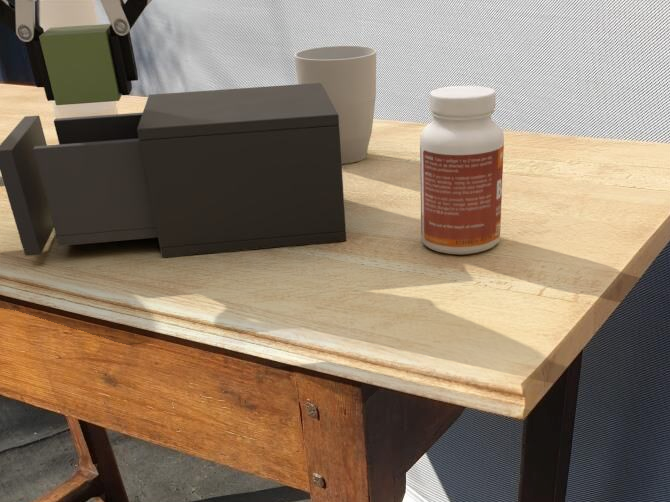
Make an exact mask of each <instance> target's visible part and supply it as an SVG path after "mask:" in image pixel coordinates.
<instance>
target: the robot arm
mask: <svg viewBox="0 0 670 502" xmlns="http://www.w3.org/2000/svg"><path fill="white" fill-rule="evenodd" d="M125 1H126V2H125ZM152 1H153V0H100V3H101V4H102V7H103V9H104V12H105V14H106V16H107V18H108V21H109V24H111V25H110V27H109V28H110V33H111V36H110V37H109V46H110V50H111V55H112V60H113V65H114V70H115V75H116V80H117V85H118V89H119V93H120V94H122V96H130V94H131V92H132V90H133V84H132V82H135V81H138V80H139V73H138V68H137V63H136V58H135V53H134V46H133V42H132V41H133V40H132V38H131V36H132V35H131V32H130V31H131V30H132V28H133V26H134V25H136V24H135V23H137V21H138V19H139V18H140V16H142V13H143V12H144V10H145V9H146V8H147V6H148V5H149V4H150V3H151V2H152ZM0 23H1V24H3V25H4V26H5V27H6V28H8V30H11V32H13V33H14V34H15V35H16V36H17V38H18V39H19V40H20V41H22V42H24V45H25V50H26V53H27V57H28V61H29V65H30V69H31V71H32V76H33V80H34V83H35V86H36V88H43V90H44V94H45V98H46V100H47V102H52V101H54V100H55V99H54V95H53V91H52V87H51V83H50V79H49V75H48V71H47V67H46V63H45V59H44V55H43V51H42V47H41V43H40V39H39V36H40V35H41V34H43V33H44V30H43V28H42V27H41V26H40V0H14V4H13V3H12V2H11V1H10V0H0ZM122 96H121V97H122Z"/></svg>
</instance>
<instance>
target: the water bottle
mask: <svg viewBox="0 0 670 502" xmlns="http://www.w3.org/2000/svg"><path fill="white" fill-rule="evenodd" d="M96 8H97V7H96V3H95V0H40V26H41V27H42V28H43V30H44V32H45V31H46V30H48V29H49V28H54V27H70V26H85V25H101V24H100V23H99V19H98V14H97V9H96ZM51 106H52V110H53V113H54V117H55V119H58V118H72V117H86V116H100V115H114V114H119V112H118V105H117V101H109V102H96V103H82V104H68V105H56V103H55V100H54V101H51Z"/></svg>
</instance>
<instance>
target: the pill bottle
mask: <svg viewBox="0 0 670 502" xmlns="http://www.w3.org/2000/svg"><path fill="white" fill-rule="evenodd" d="M496 95H497V93H496V90H495V89H494V88H492V87H488V86H482V85H451V86H444V87H439V88H435V89H433V90H431V91H430V93H429V111H430V112H429V113H430V115H431V116H432V117H433V120H432V121H431V122H430V123H428V124H427V125H425V127H424V128H423V130H422V132H421V134H420V139H419V153H420V154H419V158H420V159H419V161H420V163H419V165H420V171H419V173H420V176H419V177H420V229H421V230H420V233H421V235H420V236H421V241H422V243H423V244H424V246H426V247H427V248H428V249H431V251H435V252H438V253H442V254H448V255H458V256H459V255H460V256H461V255H472V254H478V253H482V252H485V251H488V250H490V249H492V248H494V247H495V246H496V245H497V244H498V243H499V241H500V238H501V229H502V228H501V221H502V198H503V173H504V170H503V169H504V150H505V149H504V147H505V135H504V131H503V129H502V128H501V126H500V125H499V124H498V123H497V122H495V121H493V119H492V115H494V113H495V110H496V99H497V98H496Z"/></svg>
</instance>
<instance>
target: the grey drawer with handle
mask: <svg viewBox="0 0 670 502" xmlns="http://www.w3.org/2000/svg"><path fill="white" fill-rule="evenodd" d="M142 114H143V112H131V113H118V114H114V115H100V116H86V117H72V118H58V119H56V118H54V119H53V124H54V128H55V133H56V137H57V141H58V144H47V140H46V136H45V132H44V129H43V125H42V121H41V120H42V119H41V117H40V115H28V116H27V115H26V116H24V117H23V118H22V119H21V120H20V121H19V122H18V123H17V125H16V126H15V127H13V129H12V130H11V132H10V133H9V134H8V135H7V136H6V137H5V139H4V140H3V141H2V142H1V143H0V187H4V188H5V191H6V195H7V198H8V202H9V205H10V209H11V212H12V216H13V219H14V222H15V227H16V230H17V232H18V236H19V240H20V243H21V246H22V249H23V254H24V256H25V257H30V256H40V255H42V254H43V251H44V250H45V248H46V246H47V243H48V241H49V240H50V237H51V235H52V233H53V232H55V236H56V240H57V244H58V246H59V247H65V246H76V245H87V244H99V243H111V242H120V241H122V242H123V241H132V240H133V241H134V240H144V239H155V238H156V239H158V235H157V230H156V225H155V220H154V215H153V210H152V205H151V199H150V194H149V189H148V184H147V179H146V174H145V169H144V164H143V158H142V153H141V148H140V143H139V138H138V133H137V128H138V125H139V122H140V119H141V117H142ZM53 230H54V231H53Z"/></svg>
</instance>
